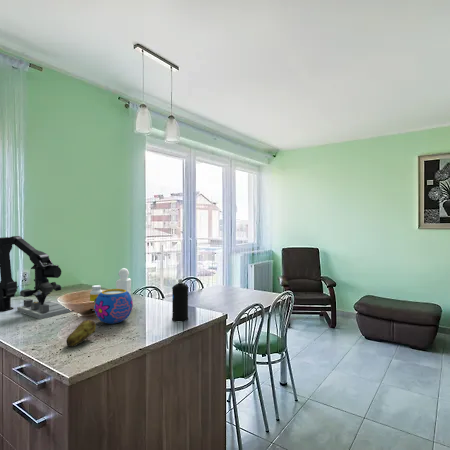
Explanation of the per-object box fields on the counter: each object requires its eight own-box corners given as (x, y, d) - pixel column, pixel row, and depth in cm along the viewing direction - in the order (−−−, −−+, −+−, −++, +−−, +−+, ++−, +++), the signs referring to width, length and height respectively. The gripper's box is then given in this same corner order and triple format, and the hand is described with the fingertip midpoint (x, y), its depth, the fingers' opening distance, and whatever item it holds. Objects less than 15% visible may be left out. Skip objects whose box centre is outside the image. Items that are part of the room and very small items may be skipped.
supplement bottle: (98, 311, 169) (98, 287, 169) (87, 310, 170) (87, 286, 170) (105, 307, 175) (105, 285, 175) (94, 307, 177) (94, 284, 177)
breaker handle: (31, 308, 165) (31, 302, 164) (37, 307, 167) (37, 301, 167) (34, 309, 162) (34, 303, 162) (40, 308, 165) (40, 302, 165)
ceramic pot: (122, 314, 163) (122, 285, 163) (139, 322, 150) (139, 291, 150) (88, 321, 151) (88, 290, 151) (103, 331, 138) (103, 297, 138)
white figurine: (131, 305, 181) (131, 267, 181) (126, 308, 174) (126, 269, 174) (120, 304, 182) (120, 267, 181) (115, 307, 175) (115, 268, 175)
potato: (59, 344, 123) (59, 324, 123) (91, 335, 133) (90, 316, 133) (69, 350, 118) (69, 329, 118) (101, 340, 128) (101, 320, 128)
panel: (17, 310, 169) (17, 300, 169) (51, 303, 183) (51, 294, 183) (39, 319, 154) (39, 308, 154) (74, 310, 169) (74, 300, 169)
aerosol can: (191, 317, 157) (191, 278, 157) (182, 322, 150) (182, 281, 150) (177, 315, 161) (177, 277, 161) (168, 320, 153) (168, 279, 153)
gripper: (29, 282, 155) (29, 313, 155) (66, 276, 170) (66, 304, 170) (19, 279, 161) (19, 309, 161) (55, 273, 176) (56, 301, 177)
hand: (41, 306), depth 167 cm, fingers closed
